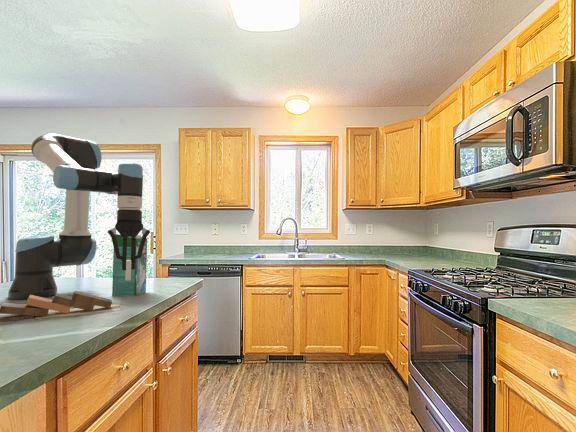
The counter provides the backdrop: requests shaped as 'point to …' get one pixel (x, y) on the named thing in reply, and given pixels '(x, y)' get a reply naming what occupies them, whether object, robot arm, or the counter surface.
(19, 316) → the domino
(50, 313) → the birch board
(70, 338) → the counter surface
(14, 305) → the domino
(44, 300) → the rust tile
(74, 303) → the domino
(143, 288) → the milk carton
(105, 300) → the domino
